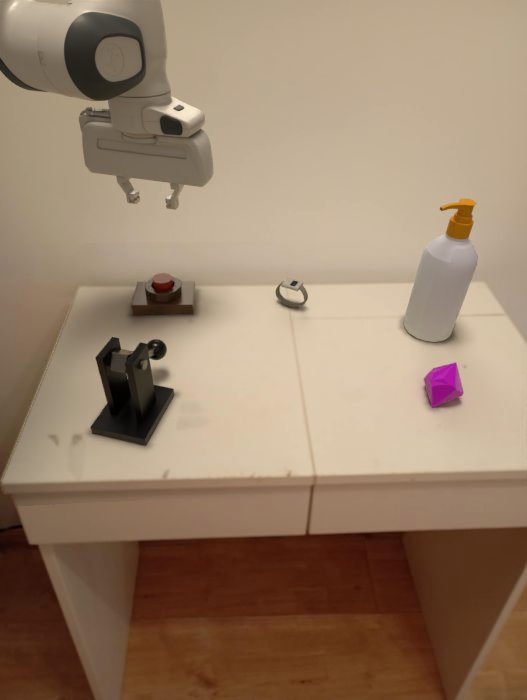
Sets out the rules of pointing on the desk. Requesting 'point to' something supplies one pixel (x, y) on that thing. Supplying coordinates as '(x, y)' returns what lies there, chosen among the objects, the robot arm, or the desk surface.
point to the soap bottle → (443, 278)
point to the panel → (164, 299)
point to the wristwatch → (293, 286)
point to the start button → (162, 282)
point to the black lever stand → (130, 396)
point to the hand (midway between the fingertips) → (153, 205)
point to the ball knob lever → (120, 357)
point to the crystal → (443, 384)
